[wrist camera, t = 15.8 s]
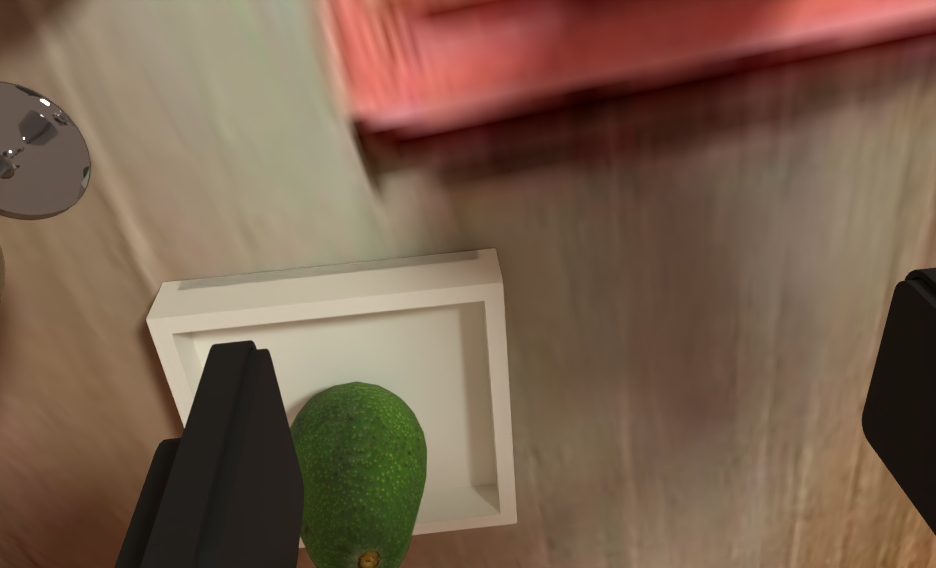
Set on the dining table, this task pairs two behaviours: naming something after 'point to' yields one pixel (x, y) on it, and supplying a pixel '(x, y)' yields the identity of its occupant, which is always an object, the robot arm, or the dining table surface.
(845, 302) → the dining table surface
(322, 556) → the avocado
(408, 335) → the tray
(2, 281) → the wine glass
